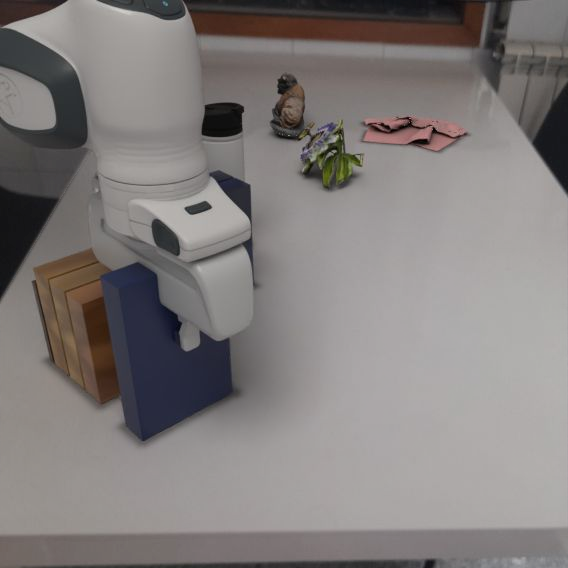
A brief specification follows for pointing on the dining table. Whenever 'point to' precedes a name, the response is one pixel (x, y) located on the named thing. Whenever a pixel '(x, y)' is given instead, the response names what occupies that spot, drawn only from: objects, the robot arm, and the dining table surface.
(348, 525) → the dining table surface
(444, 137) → the cloth
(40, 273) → the tan books
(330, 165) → the passion flower
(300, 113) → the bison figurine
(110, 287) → the navy book
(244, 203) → the navy books
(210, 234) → the robot arm
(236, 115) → the travel mug
